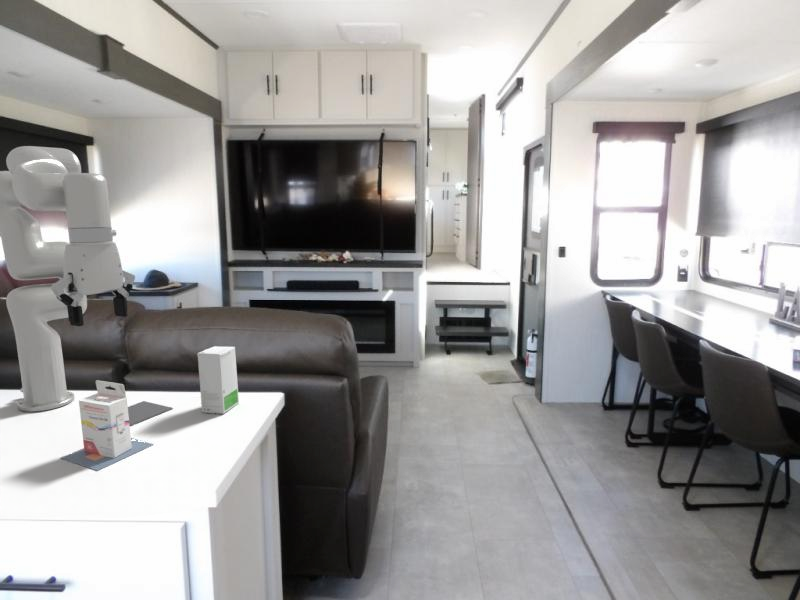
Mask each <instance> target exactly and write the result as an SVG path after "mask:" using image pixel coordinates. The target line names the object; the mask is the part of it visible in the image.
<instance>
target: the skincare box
mask: <svg viewBox="0 0 800 600" xmlns="http://www.w3.org/2000/svg"><path fill="white" fill-rule="evenodd" d="M196 355H197V362H198V377H199V387H200V388H199V390H200V400H201V401H200V404H201V413H204V414H205V413H206V414H215V413H216V414H217V415H218V414H220V415H223V414H225V413H228V412H229V411H230V410H232V409H233V408H234V407H236V406H238V404H239V402H240V399H239V384H238V373H237V372H238V370H237V369H238V368H237V356H236V347H235V346H212V347H209V348H206V349H204V350H202V351H200V352H198V353H196Z"/></svg>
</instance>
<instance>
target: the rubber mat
mask: <svg viewBox="0 0 800 600" xmlns="http://www.w3.org/2000/svg"><path fill="white" fill-rule="evenodd" d="M173 409H174V407H170V406H167V405H162V404H157V403H155V402H154V403H153V402H149V401H146V400H143V401H140V402H138V403H135V404H132V405H129V406H128V416H129V426H130V427H133V426H134V424H135V425H137V424H139V422H140V423H142V422H145V421H147V420H149V419H152V418H154V417H156V416H159V415H162V414H164V413H166V412H169V411H171V410H173ZM144 420H145V421H144ZM141 421H142V422H141Z"/></svg>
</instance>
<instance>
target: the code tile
mask: <svg viewBox="0 0 800 600" xmlns="http://www.w3.org/2000/svg"><path fill="white" fill-rule="evenodd" d="M132 439H135V440H136V441H131V445H132V448H131V449H130V450H128V451H126V452H124V453H123V454H121V455H119V456H117V457H115V458H111V457H106V456H102V455H97V454H92V453H88V452H85V451H84V447H83V448H81V449H79V450H76V451H73V452H71V453H72V454H71V453H69V454H66V455H63V456H62V457H60V459H61V460H64V461H67V462H70V463H73V464H76V465H78V466H82V467H85V468H88V469H90V470H93V471H97V472H98V471H101V470H102V469H104V468H106V467H109V466H111V465H113V464H115V463H117V462H119V461H121V460H123V459H124V460H125V459H126V458H128V457H131V456H132V455H135V454H137V453H140V452H141V451H143V450H145V448H146V449H148V448H149V446H150V447H152V446H154V445H153V444H154V443H150V442H146V441H144V442H145V443H144V442H138V440H139V439H136V438H134V437H131V440H132ZM151 445H152V446H151ZM147 447H148V448H147Z"/></svg>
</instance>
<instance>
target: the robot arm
mask: <svg viewBox="0 0 800 600" xmlns="http://www.w3.org/2000/svg"><path fill="white" fill-rule="evenodd" d="M5 161H6V162H5V163H6V167H7V169H8V170H0V239H1V245H2V249H3V254H4V259H5V264H6V269H7V271H8V274H9V275H10V277H11V278H13V279H14V280H17V281H34V280H44V279H45V280H46V279H47V280H48V279H56V278H57V279H59V280H57V281H55V282H53V283H41V284H31V285H24V286H19V287H17V288H14V289H12V290H11V291H9V292H8V294H7V296H6V300H5V301H6V302H5V303H6V308H7V311H8V314H9V317H10V320H11V323H12V327H13V332H14V336H15V343H16V350H17V357H18V362H19V363H18V366H19V371H20V378H21V388H20V392H21V393H23V399H21V400H20V401H18V402H17V409H18V410H20V411H22V412H28V413H29V412H43V411H48V410H53V409H57V408H61V407H64V406H66V405H68V404H71V403H72V402H73V401H74V400H75V394H74V392H72V391H68V390H67V389H68V388H67V382H66V374H65V365H64V356H63V349H62V342H61V341H62V339H61V337H60V334H59V332H57V330H55V329H54V328H53V327H51V325H49V324H48V322H50V321H53V320H60V319H67V318H68V321H69V325H71V326H72V327H73V326H74V327H83V326H84V317H83V314H84V313H85V312H86V310H87V308H88V297H87V296H89V295H97V294H104V293H108V292H109V293H110V292H111V293H112V294H113V295H114V297H113V298H112V301H113V311H114V316H115V317H120V318H121V317H122V318H126V317H128V302H127V298H129V296H130V292H131V291H132V289H133V285H134V282H135V279H136V276H135V274H132V273H130V272H128V271H125V270H123V267H122V262H121V257H120V253H119V250H118V247H117V244H116V242H113V240H114V239H113V237H116V236H117V231H116V230H115V229H112V220H111V210H110V201H109V192H108V191H109V190H108V183H107V179H106V177H104V175H102V174H99V173H92V172H90V173H89V172H82V165H81V162H80V160H79V158H78V156H77V155H76V154H75V152H73V151H71V150H69V149H67V148H62V147H49V146H48V147H47V146H35V145H34V146H33V145H27V146H26V145H23V146H17V147H15V148H13V149H12V150H10V151H9V153H8V154H7V156H6V159H5ZM23 207H25V208H27V209H29V210H31V211H35V212H36V211H37V212H65V213H66V214H65V215H66V223H67V224H66V225H67V232H68V240H69V242H66V241H44V240H43V237H42V232H41V225H40V223H39V221H38V220H37V219H36V218H35V217H34V216H33V215H32V214H31V213H30V212H28V211H27V210H26V209H24V208H23Z"/></svg>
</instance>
